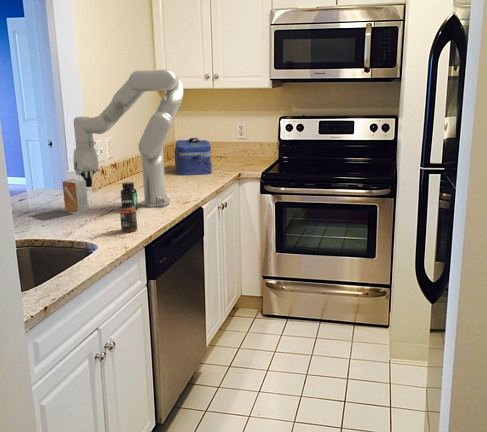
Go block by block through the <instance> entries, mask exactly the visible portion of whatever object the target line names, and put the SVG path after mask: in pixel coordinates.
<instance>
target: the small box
mask: <svg viewBox="0 0 487 432" xmlns="http://www.w3.org/2000/svg"><path fill="white" fill-rule="evenodd" d="M61 184H62V190H63V201H64V211H68V212H77V213H79V212H83V211H86V210H89V201H88V191H87V187H86V180H84V179H75V178H72V179H66V180H62V183H61Z"/></svg>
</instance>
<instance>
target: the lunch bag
mask: <svg viewBox="0 0 487 432" xmlns="http://www.w3.org/2000/svg"><path fill="white" fill-rule="evenodd" d="M211 148H212V144H211V143H210V142H209V141H208V140H206V139H203V140H201V139H199V138H198V137H190V138H188V139H181V140H180V139H178V140H176V143H175V148H174V164H175V170H176V172H177V175H178V176H181V177H182V176H183V177H185V176H197V175H199V176H200V175H210V174H213V171H212V165H213V163H212V161H211V154H212V149H211Z"/></svg>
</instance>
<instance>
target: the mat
mask: <svg viewBox="0 0 487 432" xmlns="http://www.w3.org/2000/svg"><path fill="white" fill-rule="evenodd" d="M74 213H75V212H72V211H69V210H65V209H60V208H59V209H55V210H54V209H53V210H49V211H44V212H40V213H34V214H30V215H28V216H29V217H31V218H34V219H38V220H41V221H48V220H52V219H56V218H61V217H66V216H72V215H74Z"/></svg>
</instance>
